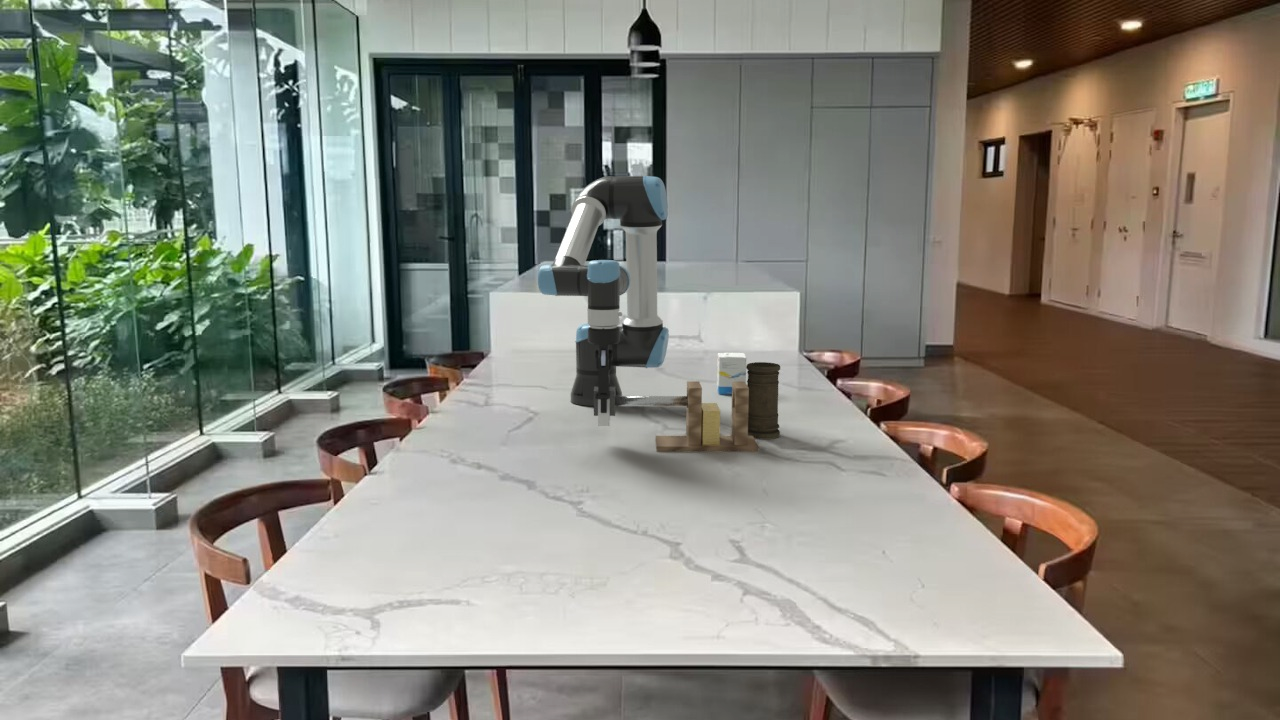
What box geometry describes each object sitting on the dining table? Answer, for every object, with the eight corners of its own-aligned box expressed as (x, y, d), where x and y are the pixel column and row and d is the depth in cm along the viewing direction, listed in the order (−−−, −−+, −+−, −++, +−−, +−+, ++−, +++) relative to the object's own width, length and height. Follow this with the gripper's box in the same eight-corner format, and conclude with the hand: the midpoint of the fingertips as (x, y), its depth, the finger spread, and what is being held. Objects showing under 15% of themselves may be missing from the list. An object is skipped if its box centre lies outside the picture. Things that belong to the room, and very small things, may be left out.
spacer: (702, 445, 218) (703, 410, 216) (699, 436, 226) (700, 403, 224) (719, 445, 218) (720, 410, 216) (716, 436, 226) (716, 403, 224)
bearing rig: (656, 451, 217) (657, 389, 214) (655, 440, 227) (655, 380, 224) (758, 451, 217) (760, 389, 215) (752, 440, 227) (754, 380, 224)
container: (778, 440, 227) (781, 368, 224) (742, 438, 229) (743, 367, 226) (780, 431, 236) (782, 362, 233) (745, 429, 238) (747, 360, 235)
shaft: (593, 415, 218) (593, 390, 217) (594, 410, 223) (594, 386, 222) (697, 415, 218) (697, 391, 217) (695, 411, 223) (696, 386, 222)
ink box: (746, 395, 279) (747, 357, 277) (718, 394, 280) (718, 356, 278) (743, 389, 288) (744, 352, 286) (716, 389, 288) (717, 352, 286)
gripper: (619, 332, 208) (619, 432, 212) (620, 321, 226) (620, 413, 230) (586, 331, 208) (586, 432, 212) (589, 321, 226) (590, 413, 230)
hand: (604, 422), depth 221 cm, fingers open, 5 cm apart
